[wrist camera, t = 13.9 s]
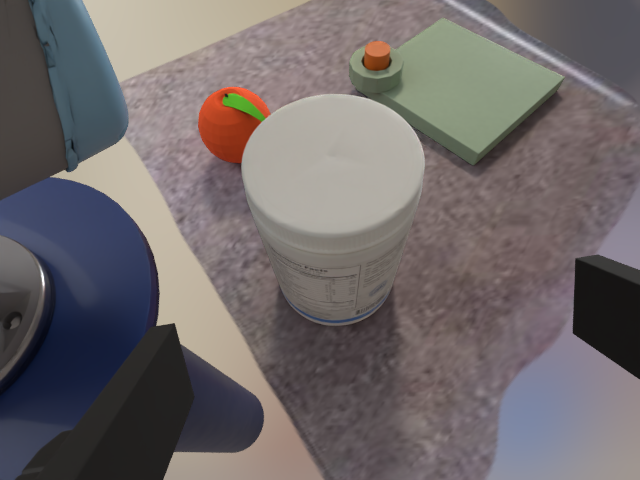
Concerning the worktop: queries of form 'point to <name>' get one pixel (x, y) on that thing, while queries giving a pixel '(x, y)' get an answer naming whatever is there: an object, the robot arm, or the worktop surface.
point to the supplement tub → (334, 201)
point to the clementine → (230, 121)
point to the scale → (457, 87)
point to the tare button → (377, 56)
